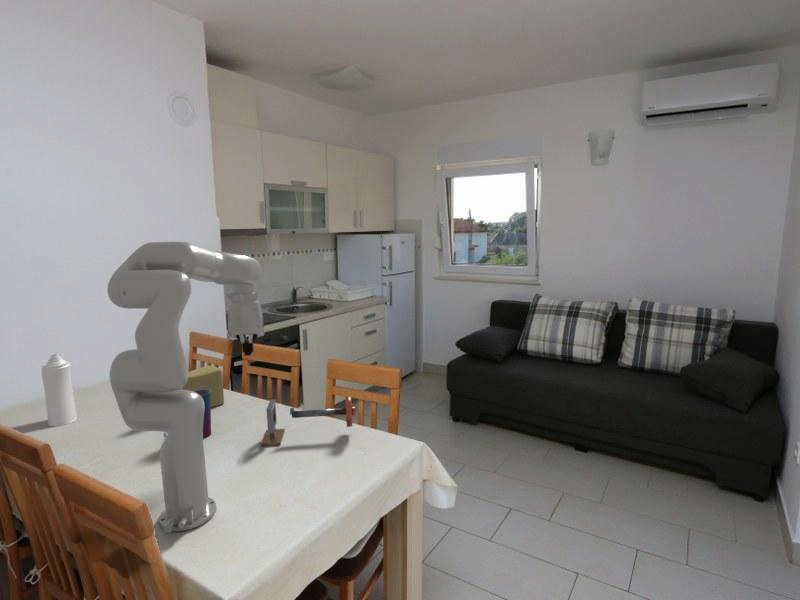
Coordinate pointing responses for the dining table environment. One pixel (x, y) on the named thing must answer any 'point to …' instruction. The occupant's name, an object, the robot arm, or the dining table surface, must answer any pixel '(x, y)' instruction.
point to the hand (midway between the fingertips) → (248, 354)
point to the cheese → (207, 383)
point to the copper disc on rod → (328, 412)
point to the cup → (206, 411)
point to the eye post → (272, 427)
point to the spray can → (58, 391)
